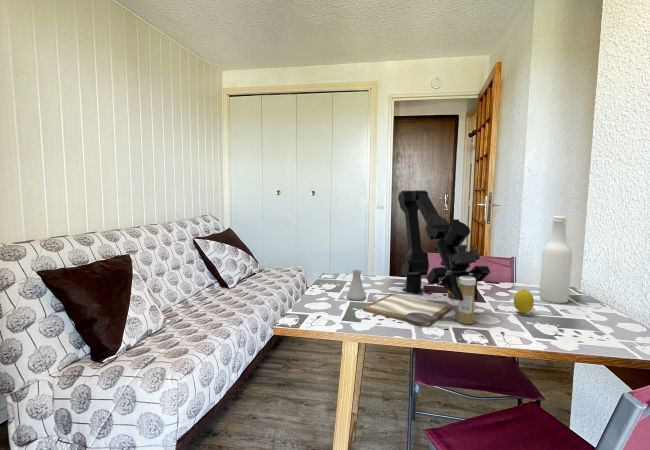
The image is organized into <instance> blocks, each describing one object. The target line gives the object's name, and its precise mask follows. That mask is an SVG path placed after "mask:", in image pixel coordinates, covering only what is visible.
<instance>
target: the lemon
mask: <svg viewBox="0 0 650 450" xmlns="http://www.w3.org/2000/svg"><path fill="white" fill-rule="evenodd" d="M534 303H535V299H534V296H533V294H532V293H531V292H530V291H528V290H527V289H524V288H523V289H521V290H520V289H519V290H518V291H516V292H515V295H514V297H513V305H514V308H515V309H516V310H518V311H519V312H520V314H523V315H524V314H525V313H528V312H531V310H533V308H534Z"/></svg>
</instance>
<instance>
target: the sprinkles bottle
mask: <svg viewBox="0 0 650 450" xmlns="http://www.w3.org/2000/svg"><path fill="white" fill-rule="evenodd" d="M459 285H460V286H459V289H460V291H461V293H462V296H463V300H462V301H460V300H459V299H458V301H457V302H458V304H457V309H458V311H457V318H456V320H457V321H458V322H459V323H461V324H465V325H466V324H467V325H471V324H473V323H474V321H475V320H474V312H475V300H474V294H475V285H476V279H475V278H474V277H471V276H461V277H459Z"/></svg>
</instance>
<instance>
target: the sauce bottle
mask: <svg viewBox="0 0 650 450" xmlns="http://www.w3.org/2000/svg"><path fill="white" fill-rule="evenodd" d="M467 247H468V244H467V243H464V242H463V243H462V244H461V245H460V246H458V247H457V249H458V251H459V252H467ZM467 270H469V268H467ZM456 281H457V284H458V286H460V285H459V277H457V278H456ZM447 296H448V298H451V299H456V300H459V299H458V298H457V297H456V296H455V295H453V294H452V293H451V292H450V291H449V290H447Z"/></svg>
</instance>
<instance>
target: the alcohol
mask: <svg viewBox="0 0 650 450" xmlns="http://www.w3.org/2000/svg"><path fill="white" fill-rule="evenodd" d="M552 218H553V219H552V228H551V234H550V240H549V241H548V243H546V245H545V246H544V247H543V249H542V254H541V255H542V257H541V269H540V271H541V272H540V282H539V283H540V285H539V286H540V287H539V297H540V299H541V300H542V301H545V302H547V303H551V304H552V303H553V304H561V305H562V304H567V303H568V301H569V300H570V290H571V287H570V286H571V273H572V265H573V264H572V262H573V251H572V248H571V247H570V246H569V244H568V243H567V219H568V218H567V216H563V215H562V216H561V215H559V216H558V215H557V216H556V215H555V216H553V217H552Z"/></svg>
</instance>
